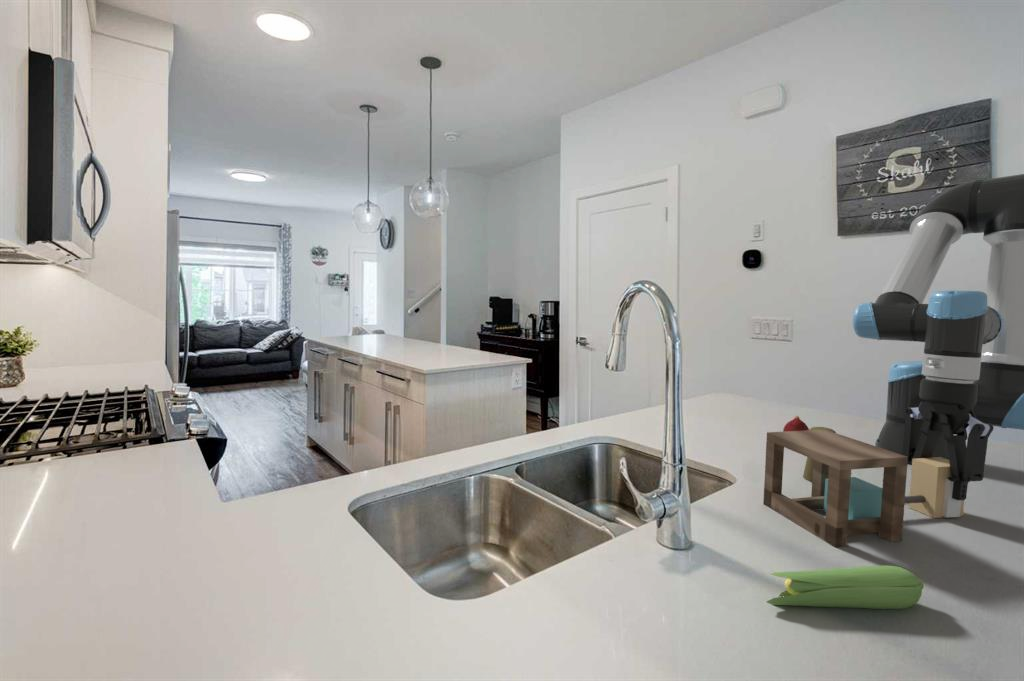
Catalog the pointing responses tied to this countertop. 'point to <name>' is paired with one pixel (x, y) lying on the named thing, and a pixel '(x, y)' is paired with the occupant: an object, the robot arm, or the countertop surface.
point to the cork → (809, 462)
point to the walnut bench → (835, 484)
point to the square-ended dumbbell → (923, 496)
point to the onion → (795, 425)
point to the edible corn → (851, 588)
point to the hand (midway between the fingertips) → (935, 509)
